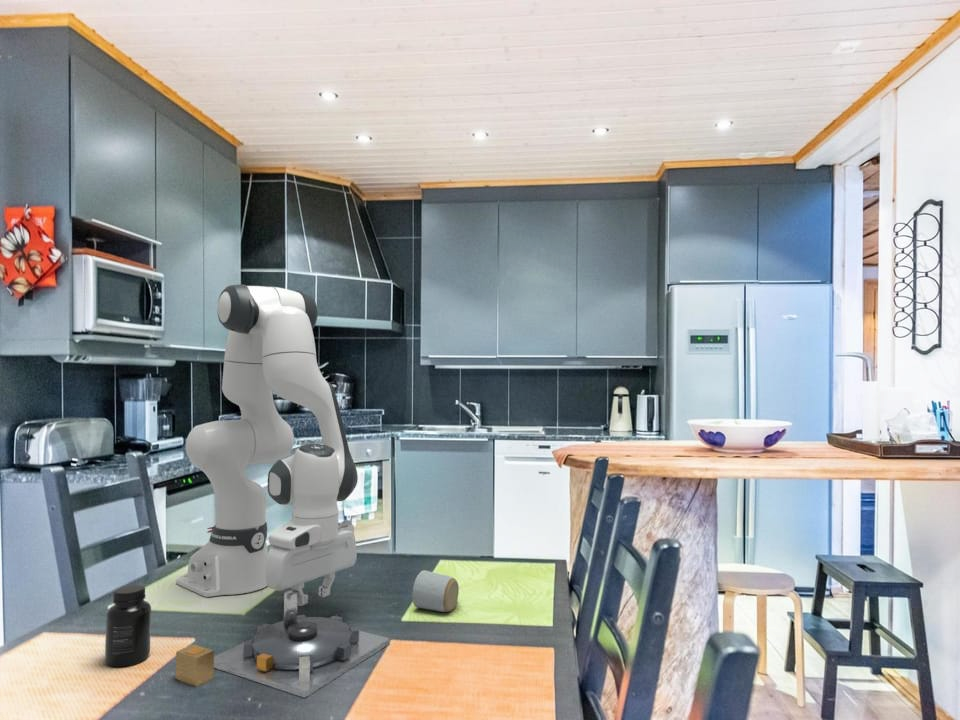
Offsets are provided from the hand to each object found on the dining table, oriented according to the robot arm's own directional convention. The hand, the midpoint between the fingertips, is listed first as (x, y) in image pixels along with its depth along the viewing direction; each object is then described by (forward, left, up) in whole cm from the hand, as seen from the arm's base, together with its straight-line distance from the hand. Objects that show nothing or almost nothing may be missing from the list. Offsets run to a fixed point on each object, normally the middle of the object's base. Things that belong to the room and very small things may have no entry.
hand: (313, 600), depth 119 cm
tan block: (-3, -24, -6) cm, 25 cm away
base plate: (+6, -9, -6) cm, 12 cm away
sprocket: (+6, -9, -5) cm, 11 cm away
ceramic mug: (+14, +23, -6) cm, 28 cm away
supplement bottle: (-19, -25, -6) cm, 32 cm away
